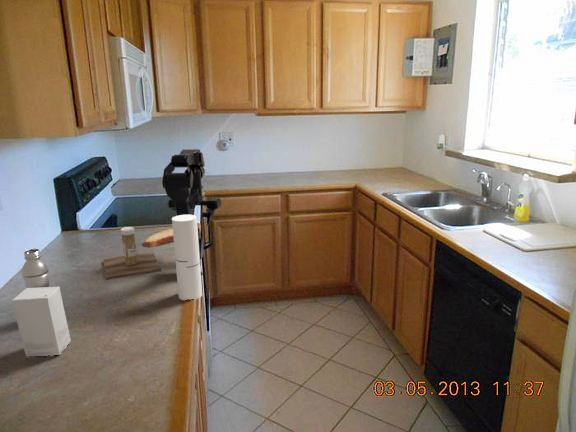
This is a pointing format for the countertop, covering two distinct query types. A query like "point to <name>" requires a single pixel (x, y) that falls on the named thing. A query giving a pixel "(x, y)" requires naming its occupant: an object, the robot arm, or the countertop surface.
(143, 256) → the walnut board
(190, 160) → the robot arm
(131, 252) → the sprinkles bottle
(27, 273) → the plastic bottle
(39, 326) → the skincare box
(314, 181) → the countertop surface
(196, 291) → the cylindrical container
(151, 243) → the slice of bread
